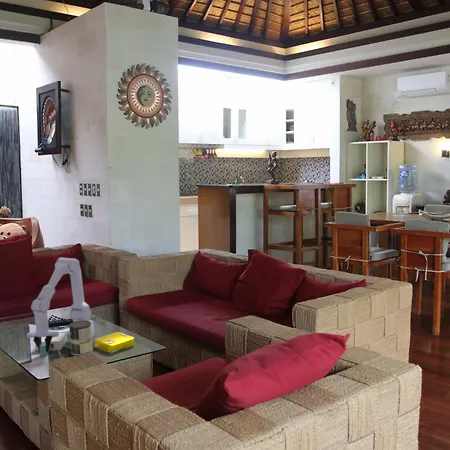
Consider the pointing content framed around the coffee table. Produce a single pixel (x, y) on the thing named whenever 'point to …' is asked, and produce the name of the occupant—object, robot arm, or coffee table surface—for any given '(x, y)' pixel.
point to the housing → (56, 342)
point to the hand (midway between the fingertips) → (44, 351)
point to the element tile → (114, 342)
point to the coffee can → (80, 337)
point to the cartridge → (44, 349)
